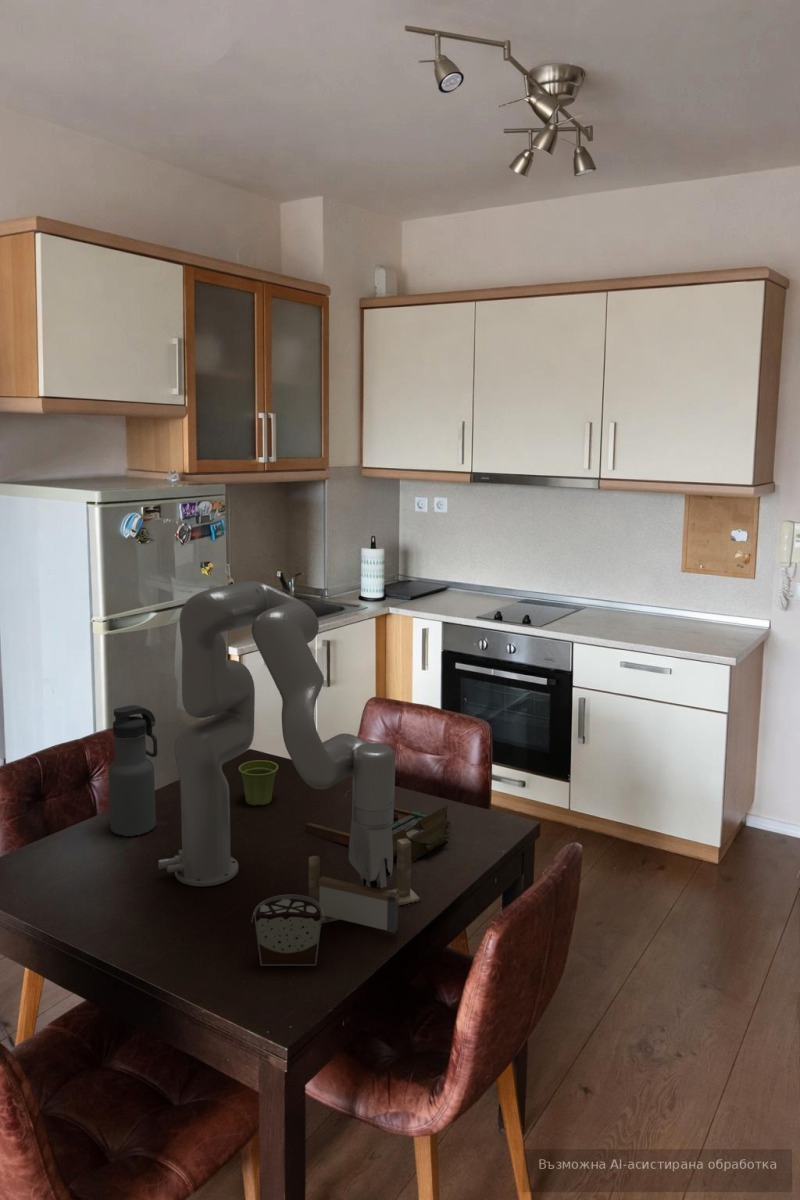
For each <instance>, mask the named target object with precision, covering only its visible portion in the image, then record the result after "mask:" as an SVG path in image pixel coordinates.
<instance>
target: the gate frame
mask: <svg viewBox="0 0 800 1200" xmlns="http://www.w3.org/2000/svg"><path fill="white" fill-rule="evenodd" d="M320 860H321V857H320V856H319V855H318V856H317V855H311V856H309V857H308V897H310V898H312V899H314V900H316V901H317V902H318V903H319V904H320V886H319V885H318V880H319V879H320V878H321V875H320V873H321V861H320ZM411 871H412V863H411V842H410V841H409V840H408V839H407V838H405V839H400V840H397V856H396V887H395V888H394V889H389V890H388V891H390V892H394V893H399V894H400V899H399V900H398V906H399V905H403V904H407V903H410V902H414V901H418V900H420V899H421V898H420V897H419V896H418V895H417V894H416V892H415V891H413V890H412V888H411V875H412V872H411ZM399 907H400V906H399ZM324 917H325V922H324V919H323V916H322V920H321V925H322V924H326V923H330V922H335V921H339V920H341V919H337V918H333V917H328V916H324Z"/></svg>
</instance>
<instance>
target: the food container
mask: <svg viewBox="0 0 800 1200" xmlns="http://www.w3.org/2000/svg"><path fill="white" fill-rule="evenodd" d="M322 916H323V919H324V922H325V917H324V912H323V909H322V908H321V905H320V904H319V903H318V902H317V901H316V900H314V899H312V898H310V897H309V896H306V895H302V894H291V893H290V894H281V895H280V894H279V895H275V896H272V897H269V898H267V899H264V900H263V901H261V902H260V903H259V904H258V905H256V906H255V908H254V911H253V914H252V917H251V922H250V923H253V921H254V924H255V934H256V939H257V948H258V956H259V964H260V966H261V967H263V966H264V967H267V966H268V967H277V966H279V967H283V966H284V967H286V966H287V967H289V966H290V967H292V966H293V967H297V966H298V967H299V966H300V967H301V966H302V967H305V966H306V967H307V966H308V967H309V966H310V967H313V966H315V967H316V966H317V962H318V954H319V944H320V936H321V927H322V924H321V920H322Z"/></svg>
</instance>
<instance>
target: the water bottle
mask: <svg viewBox="0 0 800 1200" xmlns="http://www.w3.org/2000/svg"><path fill="white" fill-rule="evenodd" d="M139 714H141V716H142V717H140V716H135V715H139ZM113 716H114V719H115V720H114V721H113V722H112V736H113V738H114V754H115V755H114V757H115V759H114V761H113V762H112V763H110V765H109V767H108V770H107V773H108V775H107V777H108V778H107V780H108V799H109V800H108V801H109V819H110V820H109V821H110V822H109V823H110V824H109V825H110V830H111V831H113V832H114V833H113V832H112V833H113V834H115V833H116V834H115V835H117V834H119V835H118V836H120V835H123V836H122V837H128V836H129V837H136V836H135V835H138V836H141V834H142V835H144V834H143V833H145V834H147V833H149V832H151V831H152V830H153V829H154V828H155V827H156V823H157V818H156V791H155V784H156V783H155V768H154V765H155V764H154V763H153V762H152V761H151V760H150V759H148V758H147V756H149V757H151V758H155V757H158V738H157V737H156V735H155V734H153V727H155V726H156V718H155V716H154V714H153V713H152V711H150V710H149V709H147V708H145V707H143V706H140V705H137V704H136V705H135V704H133V705H127V706H126V705H125V706H122V707H116V708H114V709H113ZM146 736H148V737H150V738H151V740H152V747H153V748H152V749H153V752H151V751H149V750H147V749H146V748H147V746H146V743H147V742H146ZM150 830H151V831H150ZM146 832H147V833H146Z"/></svg>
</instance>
